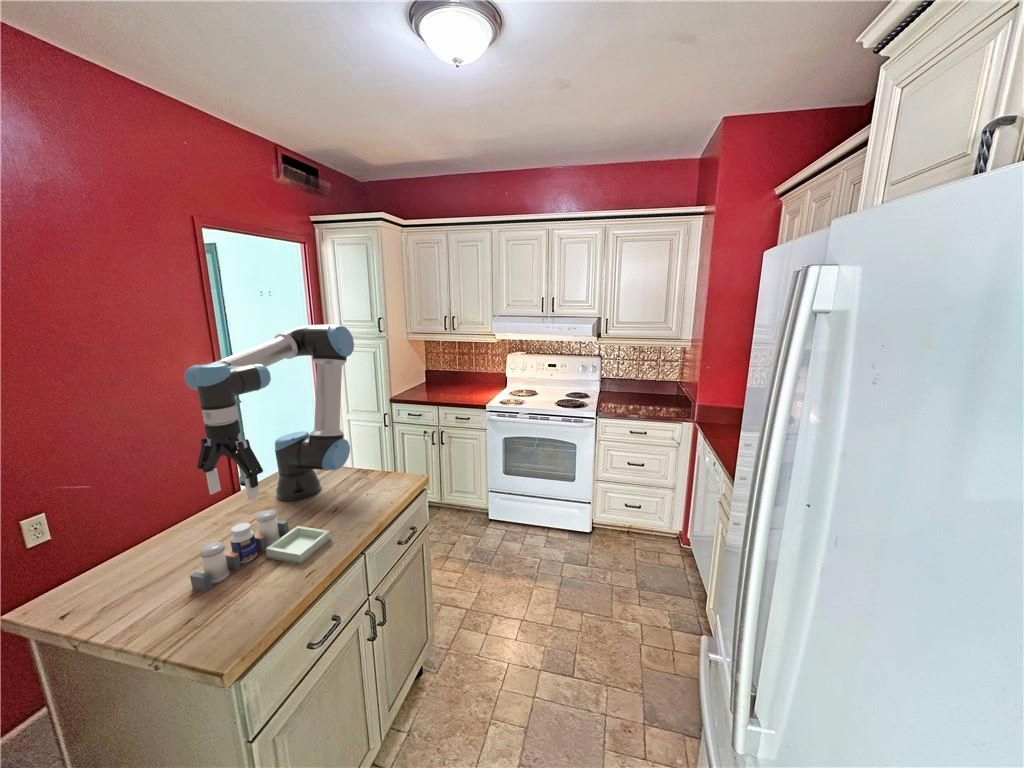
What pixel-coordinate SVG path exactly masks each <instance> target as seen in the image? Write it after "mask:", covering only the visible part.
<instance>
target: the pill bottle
mask: <svg viewBox="0 0 1024 768" xmlns="http://www.w3.org/2000/svg"><path fill="white" fill-rule="evenodd" d="M230 534H231V537H230V546H231V547H230V548H231V550H232V551H231V552H235V553H239V558H240V564H245V563H248V562H251V561H253V560H254V559H255V558H256V557H257V556H258V551H257V548H256V542H255V535H254V534H255V531H254V530H252V525H251V523H249V522H241V523H238V524H236V525H234V526H233V527H231V529H230Z"/></svg>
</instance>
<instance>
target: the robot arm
mask: <svg viewBox="0 0 1024 768" xmlns="http://www.w3.org/2000/svg"><path fill="white" fill-rule="evenodd" d="M354 348H355V342H354V337H353V335H352V333H351V332H350V330H349V329H348V327H346V326H344V325H341V324H340V325H339V324H304V325H301V326H297V327H294V328H291V329H289V330H286V331H283V332H281V333H277V334H276V335H275V336H274V338H273V339H271V340H268V341H266V342H263V343H261V344H258V345H256V346H255V345H254V346H252V347H250V348H247V349H245V350H242V351H240V352H237V353H234V354H232V355H230V356H227V357H224V358H221V359H219V360H216V361H213V362H210V363H207V364H201V363H200V364H195V365H192V366H190V367H188V368H187V370H186V371H185V373H184V381H185V384H186V386H187V387H188V388H190V389H191V390H195V391H197V394H198V395H197V396H198V399H199V404H200V408H201V412H202V413H201V414H202V419H203V423H204V424H205V425H204V431H205V437H203V438H201V439H200V442H201V443H200V445H201V446H200V452H199V457H198V460H197V465H196V468H197V469H198V470H202V472H203V473H204V475H205V481H206V482H207V487H208V491H209V495H214V494H216V493H218V492H220V491H222V488H221V483H220V478H219V477H220V476H219V472H218V468H217V466H216V465H217V464H218V462H219V461H220V459H221V457H222V456H225V457H228V458H229V459H231V460H233V461H234V462H235V463H236V465H238V467H239V469H241V470H242V472H243V473H244V474H245V476H246V477H244V482H245V489H246V494H247V500H248V501H252V500H254V499H256V498H257V497H259V496H260V492H259V491H260V490H259V478H258V475H260V474H262V473H263V472H264V468H263V467H262V466H261V464H260V462H259V460H258V458H257V456H256V454H255V453H254V450H253V449H252V447H251V445H250V441H249V439H248V438H247V439H244V440H240V439H239V435H240V434H241V427H240V421H239V420H238V419H239V414H238V409H237V403H236V401H237V400H236V396H240V395H244V394H248V393H252V392H255V391H260V390H262V389H264V388H265V389H266V387H268V386H269V385H270V383H271V379H272V378H271V373H270V370H269V369H268V368H267V367H269V366H271V365H273V364H277V363H278V362H280V361H282V360H284V359H286V360H287V359H290V360H291V359H293V358H295V357H303V356H311V357H312V361H313V362H314V363H315V364H316V381H315V400H314V401H315V402H314V403H315V405H314V428H313V430H312V431H311V432H310V433H309V432H308V431H306V430H305V431H304V430H303V431H296V432H291V433H288V434H283V435H282V436H279V437H278V438H277V439H275V441H274V452H275V459H276V463H277V469H278V481H277V487H276V489H275V492H276V498H277V499H278V500H280V501H286V502H289V501H299V500H302V499H306V498H309V497H311V496H313V495H315V494H316V493H318V492H319V491H320V490H321V489H322V488H321V481H320V479H319V478H318V475H317V474H316V471H315V470H321V471H337V470H340V469H342V467H343V466H345V463H346V462H348V459H349V455H350V452H351V445H350V443H349V441H348V440H347V439H345V438H344V436H345V435H344V432H343V431H342V430H341V429H340V428H341V426H340V425H341V403H342V401H341V400H342V378H343V377H342V373H343V371H342V370H343V366H344V365H345V364H346V363H347V361H348V360H347V359H348V358H347V357H350V356H351V355H352V354H353V352H354V350H355V349H354Z"/></svg>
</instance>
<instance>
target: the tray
mask: <svg viewBox="0 0 1024 768" xmlns="http://www.w3.org/2000/svg"><path fill="white" fill-rule="evenodd" d="M331 540H332V536H331V531H330V530H326V529H319V528H313V527H307V526H301V525H297V526H296V527H295V526H294V528H292V529H291V530H289V532H288V533H287V534H285V535H282V536H280V539H278V540H277V541H276V542H274V543H273V544H271V545H269V546H266V547H267V548H266V549H265V552H266V553H265V554H266V558H267V559H270V560H277V561H281V562H282V561H283V562H287V563H292V564H298V565H303V564H304V563H306V561H308V560H309V559H310V558H311V557H313V555H315V554H317V552H319V551H320V550H321V549H322V548H323V547H324V546H325V545H327V544H328V543H329V542H331Z"/></svg>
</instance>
